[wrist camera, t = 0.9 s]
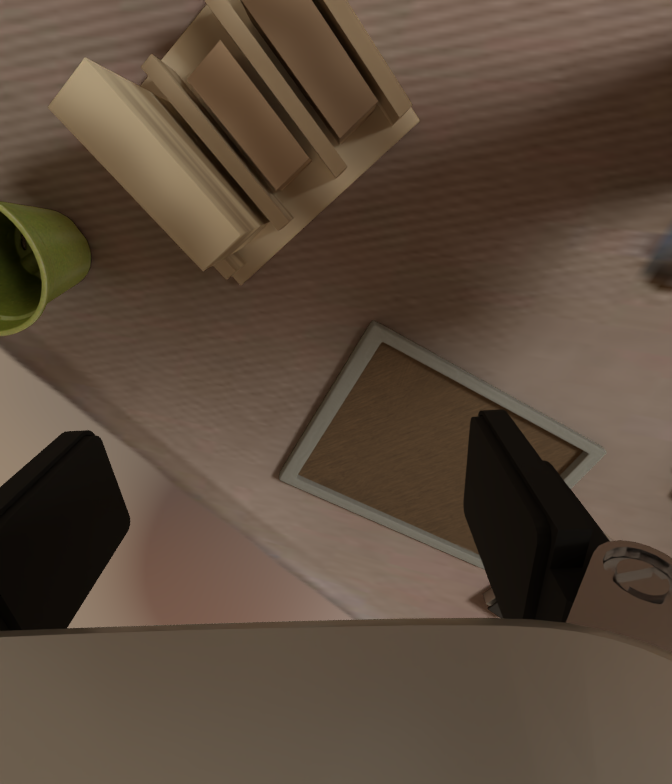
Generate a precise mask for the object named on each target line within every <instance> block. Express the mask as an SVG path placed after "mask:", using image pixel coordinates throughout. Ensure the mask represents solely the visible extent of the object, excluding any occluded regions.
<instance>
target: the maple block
mask: <svg viewBox="0 0 672 784" xmlns="http://www.w3.org/2000/svg"><path fill="white" fill-rule="evenodd" d="M48 108H49V109H50V110H51V112H52V113H53V114H54V115H55V116H56V117H57V118H58V119H59V120H60V121H61V122H62V123H63V124H64V125H65V126H66V127H67V128H68V129H69V131H70V132H71V133H72V134H73V135H74V136H75V137H76V138H77V139H78V140H79V141H80V142H81V143H82V144H83V145H84V146H85V147H86V148H87V150H88V151H89V152H90V153H91V154H92V155H93V156H94V157H95V158H96V159H97V160H98V161H99V162H100V163H101V164H102V165H103V166H104V167H105V169H106V170H107V171H108V172H109V173H110V174H111V175H112V176H113V177H114V178H115V179H116V180H117V181H118V182H119V183H120V184H121V185H122V186H123V188H124V189H125V190H126V191H127V192H128V193H129V194H130V195H131V196H132V197H133V198H134V199H135V200H136V201H137V202H138V203H139V204H140V206H141V207H142V208H143V209H144V210H145V211H146V212H147V213H148V214H149V215H150V216H151V217H152V218H153V219H154V220H155V221H156V222H157V223H158V225H159V226H160V227H161V228H162V229H163V230H164V231H165V232H166V233H167V234H168V235H169V236H170V237H171V238H172V239H173V240H174V241H175V242H176V244H177V245H178V246H179V247H180V248H181V249H182V250H183V251H184V252H185V253H186V254H187V255H188V256H189V257H190V258H191V259H192V260H193V261H194V263H195V264H196V265H197V266H198V267H199V268H200V269H201V270H202V271H205V270H206V269H208V268H210V267H211V266H213V265H215V264H216V263H218V262H220V261H221V260H223V259H225V258H226V257H228V256H230V255H232V254H233V253H235V252H237V251H238V250H240V249H242V248H243V247H244V246H245V245H246V244H247V243H248V242H250V241H251V240H252V239H253V238H254V237H255V236H256V235H257V234H258V233H259V232H260V231H261V230H262V229H263V228H264V227H265V226H266V225H267V224H268V223H269V222H270V221H269V220H268V218H267V217H266V216H265V215H264V214H263V212H262V211H261V210H260V209H259V208H258V206H257V205H256V204H255V203H254V202H253V201H252V199H251V198H250V197H249V196H248V195H247V193H246V192H245V191H244V190H243V189H242V187H241V186H240V185H239V184H238V183H237V181H236V180H235V179H234V178H233V177H232V175H231V174H230V173H229V172H228V171H227V169H226V168H225V167H224V166H223V165H222V164H221V162H220V161H219V160H218V159H217V158H216V156H215V155H214V154H213V153H212V152H211V150H210V149H209V148H208V147H207V146H206V144H205V143H204V142H203V141H202V140H201V138H200V137H199V136H198V135H197V134H196V132H195V131H194V130H193V129H192V128H191V126H190V125H189V124H188V123H187V122H186V121H185V119H184V118H183V117H182V116H181V115H180V113H179V112H178V111H177V110H176V109H175V107H174V106H173V105H172V104H171V103H170V102H168V101H167V100H165V99H163V98H161V97H159V96H157V95H155V94H153V93H151V92H150V91H148V90H146V89H144V88H142V87H140V86H138V85H136V84H134V83H132V82H131V81H129V80H127V79H125V78H123V77H121V76H119V75H117V74H115V73H114V72H112V71H110V70H108V69H106V68H104V67H102V66H100V65H98V64H97V63H95V62H93V61H91V60H89V59H87V58H84V59H83V61H82V62H81V63H80V65H79V66H78V67H77V69H76V70H75V71H74V73H73V74H72V75H71V77H70V78H69V80H68V81H67V82H66V84H65V85H64V86H63V88H62V89H61V90H60V92H59V93H58V94H57V96H56V97H55V98H54V100H53V101H52V102H51V104H50V105H49V106H48Z"/></svg>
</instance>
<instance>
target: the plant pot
mask: <svg viewBox="0 0 672 784" xmlns="http://www.w3.org/2000/svg"><path fill="white" fill-rule="evenodd" d="M22 234H23V236H24V237H25V239H26V250H24V249H23V247H22V244H21V235H22ZM90 264H91V253H90V248H89V245H88V242H87V240H86V238H85V237H84V236H83V235H82V234H81V232H80V231H79V230H78V228H77V227H76V226H75V224H74V223H73V222H72V221H71V220H70V219H69V218H67V217H66V216H64V215H62V214H61V213H59V212H56V211H53V210H50V209H44V208H38V207H32V206H25V205H19V204H13V203H7V202H1V201H0V336H7V335H12V334H15V333H18V332H20V331H23V330H24V329H26V328H28V327H29V326H31V325H32V324H33V323H35V322H36V321H37V319H38V318H39V317H40V316H41V314H42V313H43V311H44V309H45V307H46V305H47V303H49V302H50V301H52V300H53V299H55V298H56V297H58V296H59V295H61V294H62V293H64V292H65V291H67V290H68V289H70V288H71V287H73V286H75V285H76V284H78V283H79V282H80V281H81V280H83V279H84V277H85V276H86V275H87V273H88V271H89V268H90Z"/></svg>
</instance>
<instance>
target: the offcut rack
mask: <svg viewBox="0 0 672 784" xmlns="http://www.w3.org/2000/svg"><path fill="white" fill-rule="evenodd" d="M204 1H205V3H206V6H205V7H204V8H203V9H202V11H201V12H200V13H199V14H198V16H197V17H196V18H195V19H194V20H193V22H192V23H191V24H190V25H189V27H188V28H187V29H186V30H185V32H184V33H183V34H182V35H181V36H180V38H179V39H178V40H177V41H176V43H175V44H174V45H173V46H172V48H171V49H170V50H169V51H168V52H167V54H166V55H165V56H164V57H163V59H162V60H159V59H158V58H157V57H155V56H154V55H153V54H151V55H150V56H149V57H148V59H147V60H146V61H145V62H144V64H143V65H142V66H141V68H142V69H143V70H144V72H145V73H146V74H147V75H148V77H147V78H146V80H145V81H144V82H143V83H142V85H141V86H140V87H142V88H144V89H146V90H148V91H150V92H151V93H153V94H155V95H157V96H159V97H161V98H163V99H165V100H167V101H168V102H170V103H171V104H172V105H173V106H174V107H175V109H176V110H177V111H178V112H179V113H180V115H181V116H182V117H183V118H184V119H185V121H186V122H187V123H188V124H189V125H190V126H191V128H192V129H193V130H194V131H195V132H196V134H197V135H198V136H199V137H200V138H201V140H202V141H203V142H204V143H205V144H206V146H207V147H208V148H209V149H210V150H211V152H212V153H213V154H214V155H215V156H216V158H217V159H218V160H219V161H220V162H221V164H222V165H223V166H224V167H225V168H226V169H227V171H228V172H229V173H230V174H231V175H232V177H233V178H234V179H235V180H236V181H237V183H238V184H239V185H240V186H241V187H242V189H243V190H244V191H245V192H246V193H247V195H248V196H249V197H250V198H251V199H252V201H253V202H254V203H255V204H256V205H257V206H258V208H259V209H260V210H261V211H262V212H263V214H264V215H265V216H266V217H267V218H268V220H269V221H270V222H269V223H268V224H267V225H266V226H265V227H264V228H263V229H262V230H261V231H260V232H259V233H258V234H257V235H256V236H255V237H254V238H253V239H252V240H251V241H250V242H248V243H247V244H246V245H245V246H244V247H243V248H242V249H240V250H238V251H237V252H235V253H233V254H232V255H230V256H228V257H226V258H225V259H223V260H221V261H220V262H218V263H216V264H215V265H213V266H214V267H215V268H216V269H217V271H218V272H219V273H220V274H221V275H222V276H223V277H224V278H225V279H226V280H227V279H228V278H230V277H231V276H232V277H233V278H234V279H235V280H236V281H237V282H238V283H239V284H240V285H242V284H243V283H244V282H245V281H247V280H248V279H249V278H250V277H251V276H252V275H253V274H254V273H255V272H256V271H257V270H258V269H260V268H261V267H262V266H263V265H264V264H265V263H266V262H267V261H268V260H269V259H270V258H272V257H273V256H274V255H275V254H276V253H277V252H278V251H279V250H280V249H281V248H282V247H283V246H285V245H286V244H287V243H288V242H289V241H290V240H291V239H292V238H293V237H294V236H295V235H296V234H298V233H299V232H300V231H301V230H302V229H303V228H304V227H305V226H306V225H307V224H308V223H310V222H311V221H312V220H313V219H314V218H315V217H316V216H317V215H318V214H319V213H320V212H321V211H323V210H324V209H325V208H326V207H327V206H328V205H329V204H330V203H331V202H332V201H333V200H335V199H336V198H337V197H338V196H339V195H340V194H341V193H342V192H343V191H344V190H345V189H346V188H348V187H349V186H350V185H351V184H352V183H353V182H354V181H355V180H356V179H357V178H358V177H359V176H361V175H362V174H363V173H364V172H365V171H366V170H367V169H368V168H369V167H370V166H371V165H373V164H374V163H375V162H376V161H377V160H378V159H379V158H380V157H381V156H382V155H383V154H384V153H386V152H387V151H388V150H389V149H390V148H391V147H392V146H393V145H394V144H395V143H396V142H397V141H399V140H400V139H401V138H402V137H403V136H404V135H405V134H406V133H407V132H408V131H409V130H411V129H412V128H413V127H414V126H415V125H416V124H417V123H418V122H419V121H420V120H419V119H418V117H417V116H416V114H415V112H414V111H413V109H412V108H411V106H412V103H411V101H410V100H409V98H408V97H407V95H406V94H405V92H404V90H403V89H402V87H401V86H400V84H399V82H398V81H397V79H396V78H395V76H394V75H393V73H392V71H391V70H390V68H389V67H388V65H387V63H386V62H385V60H384V59H383V57H382V55H381V54H380V52H379V51H378V49H377V48H376V46H375V44H374V43H373V41H372V40H371V38H370V36H369V35H368V33H367V32H366V30H365V29H364V27H363V25H362V24H361V22H360V21H359V19H358V17H357V16H356V14H355V13H354V11H353V9H352V8H351V6H350V5H349V3H348V2H347V0H312V1H313V3H314V4H315V6H316V7H317V9H318V11H319V12H320V14H321V15H322V17H323V18H324V20H325V21H326V23H327V24H328V26H329V27H330V29H331V30H332V32H333V33H334V35H335V36H336V38H337V39H338V41H339V42H340V44H341V45H342V47H343V48H344V50H345V52H346V53H347V55H348V56H349V58H350V59H351V61H352V62H353V64H354V65H355V67H356V68H357V70H358V71H359V73H360V74H361V76H362V77H363V79H364V80H365V82H366V83H367V85H368V86H369V88H370V90H371V91H372V93H373V94H374V96H375V97H376V99H377V100H378V102H377V104H376V107H375V109H374V111H373V113H372V114H371V115H370V116H369V117H368V118H367V119H366V120H365V121H364V122H363V123H362V124H361V125H360V126H359V127H358V128H357V129H356V130H355V131H354V132H353V133H352V134H351V135H350V136H349V137H348V138H347V139H345V140H344V141H343V142H342V143H341V144H340V145H339V144H338V142H337V141H336V139H335V138H334V137H333V135H332V134H331V132H330V131H329V130H328V128H327V127H326V125H325V124H324V123H323V121H322V120H321V118H320V117H319V116H318V114H317V113H316V111H315V110H314V109H313V107H312V106H311V105H310V103H309V102H308V100H307V99H306V98H305V96H304V95H303V93H302V92H301V91H300V89H299V88H298V86H297V85H296V84H295V82H294V81H293V79H292V78H291V77H290V75H289V74H288V73H287V71H286V70H285V68H284V67H283V66H282V64H281V63H280V61H279V60H278V59H277V57H276V56H275V54H274V53H273V52H272V50H271V49H270V47H269V46H268V45H267V43H266V42H265V41H264V39H263V38H262V36H261V35H260V34H259V32H258V31H257V29H256V28H255V27H254V25H253V24H252V22H251V20H250V18H249V17H248V15H247V13H246V11H245V9H244V7H243V5H242V3H241V1H240V0H204ZM220 40H221V41H222V43H223V44H224V45H225V47H226V48H227V49H228V50H229V52H230V53H231V54H232V56H233V57H234V58H235V60H236V61H237V62H238V63H239V65H240V66H241V67H242V69H243V70H244V71H245V73H246V74H247V75H248V77H249V78H250V79H251V81H252V82H253V83H254V85H255V86H256V87H257V89H258V90H259V91H260V93H261V94H262V95H263V97H264V98H265V99H266V101H267V102H268V103H269V105H270V106H271V107H272V109H273V110H274V111H275V113H276V114H277V115H278V117H279V118H280V119H281V121H282V122H283V123H284V125H285V126H286V127H287V129H288V130H289V131H290V132H291V134H292V135H293V136H294V138H295V139H296V140H297V142H298V143H299V144H300V146H301V147H302V148H303V150H304V151H305V152H306V154H307V155H308V156H309V158H310V159H311V160H312V162H311V163H310V164H309V165H308V166H307V167H306V168H305V169H304V170H303V171H302V172H301V173H300V174H299V175H298V176H297V177H296V178H295V179H294V180H293V181H291V182H290V183H289V184H288V185H287V186H286V187H285V188H284V189H283V190H275V188H274V187H273V186H272V185H271V183H270V182H269V181H268V180H267V178H266V177H265V176H264V175H263V173H262V172H261V171H260V170H259V168H258V167H257V166H256V165H255V164H254V162H253V161H252V160H251V159H250V157H249V156H248V155H247V154H246V152H245V151H244V150H243V149H242V147H241V146H240V145H239V144H238V142H237V141H236V140H235V139H234V138H233V136H232V135H231V134H230V133H229V131H228V130H227V129H226V128H225V126H224V125H223V124H222V123H221V121H220V120H219V119H218V118H217V116H216V115H215V114H214V113H213V112H212V110H211V109H210V108H209V107H208V105H207V104H206V103H205V102H204V100H203V99H202V98H201V97H200V95H199V94H198V93H197V92H196V90H195V89H194V88H193V87H192V86H191V84H190V83H189V82H188V81H187V78H188V77H189V76H190V75H191V74H192V73H193V71H194V70H195V69H196V68H197V67H198V66H199V64H200V63H201V62H202V61H203V60H204V58H205V57H206V56H207V55H208V54H209V53H210V51H211V50H212V49H213V48H214V47H215V45H216V44H217V43H218V42H219V41H220Z"/></svg>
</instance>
